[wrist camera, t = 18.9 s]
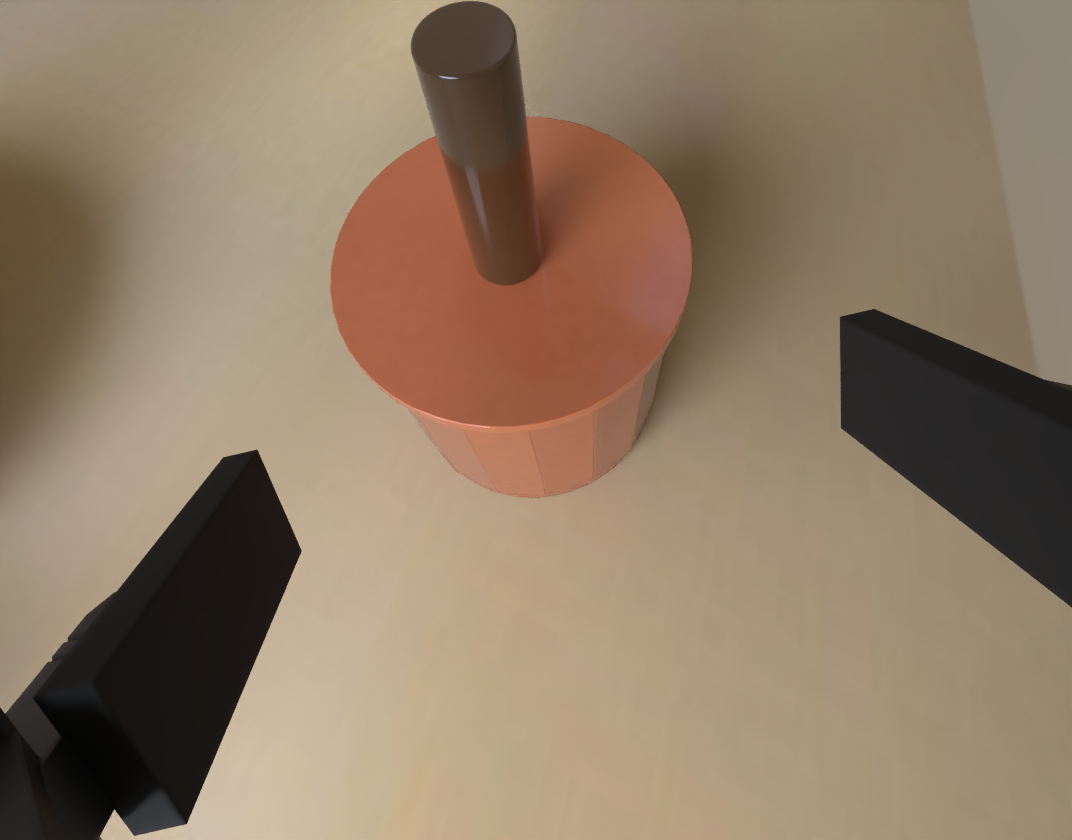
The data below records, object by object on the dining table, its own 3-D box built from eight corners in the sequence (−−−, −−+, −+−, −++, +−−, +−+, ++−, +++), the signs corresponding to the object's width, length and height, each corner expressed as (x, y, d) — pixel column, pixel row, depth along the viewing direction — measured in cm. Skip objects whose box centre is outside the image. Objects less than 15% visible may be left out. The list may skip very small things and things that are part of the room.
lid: (743, 202, 25) (835, -74, 16) (591, 503, 22) (592, 381, 12) (450, 100, 28) (380, -182, 19) (274, 348, 25) (74, 152, 15)
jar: (687, 337, 36) (729, 197, 25) (586, 539, 32) (584, 479, 21) (491, 257, 38) (452, 100, 28) (380, 434, 35) (285, 334, 24)
